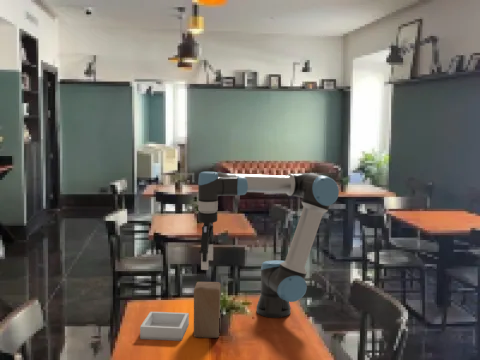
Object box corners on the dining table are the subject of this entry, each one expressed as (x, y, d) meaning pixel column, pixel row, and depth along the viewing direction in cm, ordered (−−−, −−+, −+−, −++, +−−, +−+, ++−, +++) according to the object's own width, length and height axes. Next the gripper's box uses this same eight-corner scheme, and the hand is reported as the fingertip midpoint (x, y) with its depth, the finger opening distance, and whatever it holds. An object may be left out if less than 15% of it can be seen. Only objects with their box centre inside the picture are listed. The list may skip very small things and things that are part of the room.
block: (218, 338, 211) (219, 289, 208) (193, 338, 211) (193, 288, 209) (220, 328, 221) (220, 281, 218) (196, 328, 221) (196, 280, 218)
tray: (188, 324, 224) (188, 313, 224) (181, 340, 208) (181, 328, 208) (150, 323, 226) (150, 311, 225) (140, 338, 210) (140, 326, 209)
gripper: (202, 205, 222) (202, 256, 225) (192, 217, 198) (192, 273, 200) (221, 206, 222) (220, 256, 224) (213, 217, 197) (212, 274, 200)
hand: (207, 264), depth 212 cm, fingers open, 13 cm apart
